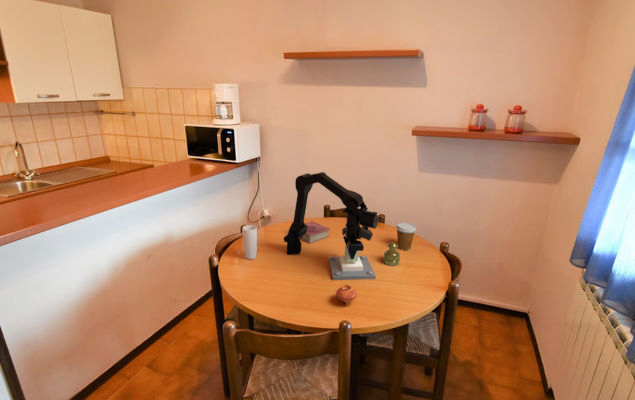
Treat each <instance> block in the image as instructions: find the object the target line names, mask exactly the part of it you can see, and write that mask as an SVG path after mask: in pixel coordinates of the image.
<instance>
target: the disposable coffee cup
mask: <svg viewBox="0 0 635 400" xmlns="http://www.w3.org/2000/svg"><path fill="white" fill-rule="evenodd" d="M396 225H397V226H396V227H395V228H396V230H397V231H396V234H397V237H396V238H397V244H398V245H399V247H398V248H397V249H399V248H400V249H399V250H401V249H403V250H402V251H409V250H408V249H410V250H411V248H412V244H413V240H414V236H415V232H416V231H417V228H416V226H415V224H413V223H410V222H399V223H398V224H396Z"/></svg>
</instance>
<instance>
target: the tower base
mask: <svg viewBox="0 0 635 400" xmlns="http://www.w3.org/2000/svg"><path fill="white" fill-rule="evenodd" d="M327 261H328V264H329V268H330V272H331V276H332V280H333V281H344V280H345V281H349V280H376V277H377V275H376V273H375V271H374V270H373V267H372V265H371V262H370V261H369V259H368V257H367V255H358V262H346V259H345V255H343V256H335V255H331V256H328V258H327Z"/></svg>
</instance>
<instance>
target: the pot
mask: <svg viewBox="0 0 635 400" xmlns="http://www.w3.org/2000/svg"><path fill="white" fill-rule="evenodd" d="M335 296H336V298H337V299H338V300H339V301H342V302H345V305H346V306H347V307H348V306H349V303H350V302H352V301H354V300H355V299H356V298H357V297H358V292H357V290H356V289H355V287H353V286H351V285H349V284H343V285H342V286H340V287H339V288H338V289H336V291H335Z"/></svg>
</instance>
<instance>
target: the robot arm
mask: <svg viewBox="0 0 635 400" xmlns="http://www.w3.org/2000/svg"><path fill="white" fill-rule="evenodd" d="M294 183H295V190H296V192H297V195H296V196H297V197H296V201H295V202H296V203H295V207H294V208H295V209H294V215H293V221H292V223H291V224H290V226H289V229H288V232H287V234H286V235H285V236H284V237H283V241H284V243H286V255H301V252H302V241H301V238H302V237H303V236H304V235H305V233H307V227H308V226H307V225H305V223H306V222H305V216H306V209H307V204H308V196H309V193H310V192H311V190H312V188H313V186H314V184H320V185H321V186H323V188H325V189H326V190H328V191H329V192H331V193H332V194H333V195H335V196H336V197H337V198H339V199H340V201H341V203H342V204H343V205H344V206H345V208H344V209H343V210H342V213H344V214H346V223H345V226H344V227H343V228H342V229H341V235H342V238H343V240H344V241H343V242H344V243H345V246H347V249H348V252H349V255H350V257H351V259H354V257H355V254H356V252H357V251H358V252H360V251H364V250H365V249H364V248H365V245H364V244H363V242H362V241H361V240H362V239H365V240H367V241H369V242H370V241H371V240H372V237H373V235H374V233H373V232H372V230H370V229H375V230H376V229H377V228H378V225H379V222H380V221H379V220H380V219H379V216H378V215H379V214H378V212H377V211H369V208H368V206H367V205H366V203H365V202H364V198H363V197H364V196H362V195H361V194H360V193H358V192H356V191H354V190H351V189H350V190H349V189H347V188H346V187H345V186H342V185H341V184H340V183H339V182H338V181H336V180H334V179H333V178H331V177H330V176H329V175H327V173H326V172H325V171H321V172H317V173H313V174H311V173H307V172H306V173H303V174H301V175H299V176H297V177H296V178H295V181H294Z"/></svg>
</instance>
